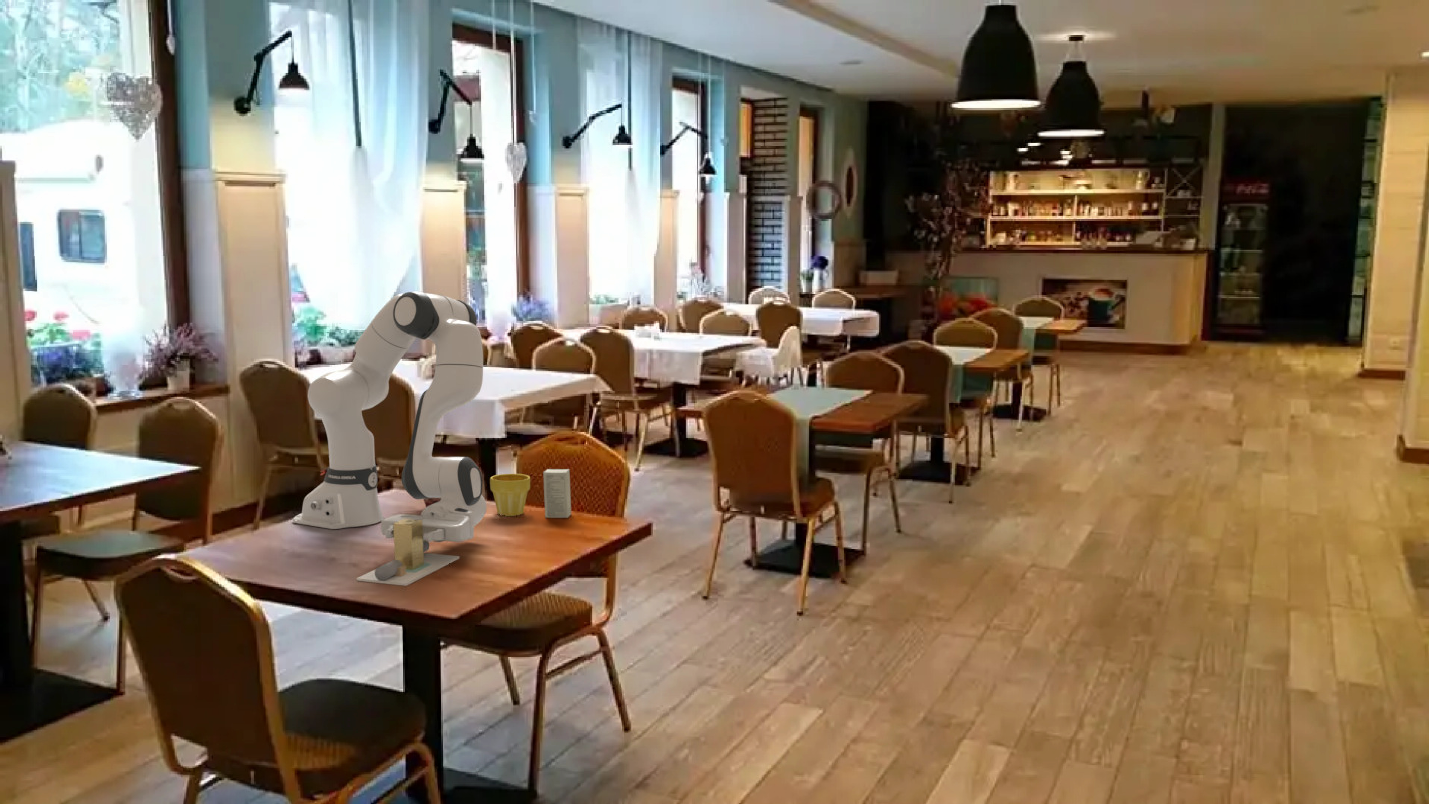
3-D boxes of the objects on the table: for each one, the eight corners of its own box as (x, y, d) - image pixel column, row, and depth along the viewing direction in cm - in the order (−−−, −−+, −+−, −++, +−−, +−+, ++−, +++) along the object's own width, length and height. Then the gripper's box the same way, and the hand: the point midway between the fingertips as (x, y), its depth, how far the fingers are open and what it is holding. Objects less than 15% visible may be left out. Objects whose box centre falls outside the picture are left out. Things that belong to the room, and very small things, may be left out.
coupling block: (395, 568, 257) (393, 523, 255) (406, 562, 261) (404, 518, 259) (412, 569, 255) (411, 525, 254) (423, 564, 260) (422, 520, 258)
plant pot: (530, 508, 316) (529, 472, 315) (531, 517, 306) (530, 480, 305) (491, 509, 314) (490, 473, 313) (490, 518, 304) (489, 481, 303)
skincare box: (571, 514, 309) (570, 469, 307) (567, 518, 305) (567, 472, 303) (547, 513, 310) (547, 468, 308) (543, 517, 305) (543, 471, 304)
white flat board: (415, 552, 271) (415, 537, 271) (461, 557, 268) (461, 542, 267) (356, 580, 250) (355, 564, 249) (406, 585, 246) (405, 569, 246)
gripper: (399, 504, 272) (365, 518, 259) (479, 511, 266) (447, 525, 253) (400, 531, 273) (366, 546, 260) (479, 538, 267) (448, 554, 254)
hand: (407, 536), depth 257 cm, fingers open, 8 cm apart
